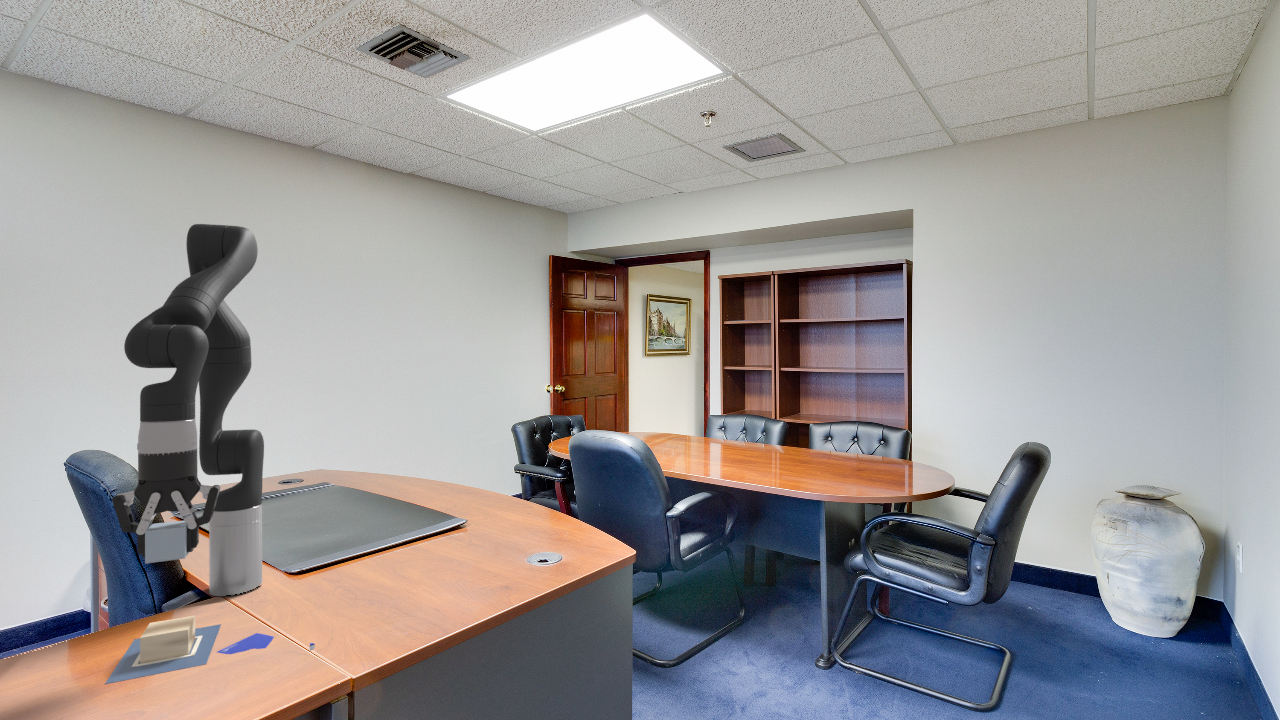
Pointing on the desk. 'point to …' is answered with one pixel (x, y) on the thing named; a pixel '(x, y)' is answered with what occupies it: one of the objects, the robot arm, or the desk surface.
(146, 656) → the maple base block
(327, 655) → the desk surface
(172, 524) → the slate block
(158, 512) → the robot arm
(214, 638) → the board
